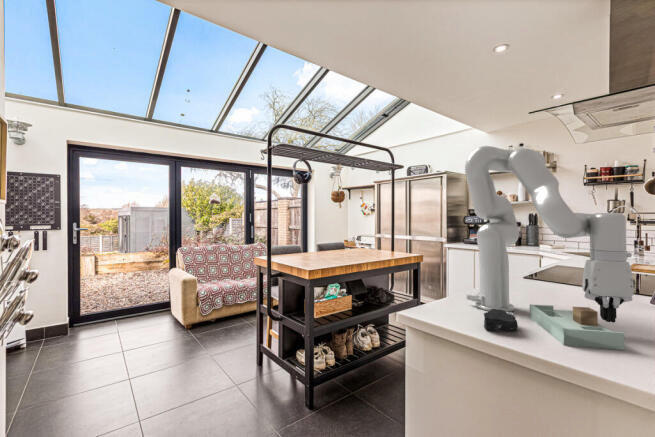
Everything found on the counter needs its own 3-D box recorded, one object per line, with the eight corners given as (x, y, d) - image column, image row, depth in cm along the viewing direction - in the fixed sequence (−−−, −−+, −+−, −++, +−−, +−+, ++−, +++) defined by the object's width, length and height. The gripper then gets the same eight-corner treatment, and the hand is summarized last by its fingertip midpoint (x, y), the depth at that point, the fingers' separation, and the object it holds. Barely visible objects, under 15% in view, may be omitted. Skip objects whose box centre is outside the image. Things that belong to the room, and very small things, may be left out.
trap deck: (563, 345, 77) (563, 329, 77) (529, 317, 98) (529, 304, 98) (624, 350, 74) (624, 333, 74) (575, 320, 95) (575, 306, 95)
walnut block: (580, 324, 83) (580, 310, 83) (572, 320, 87) (572, 306, 87) (597, 326, 82) (597, 311, 82) (588, 321, 86) (588, 307, 86)
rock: (480, 321, 96) (479, 303, 96) (512, 324, 93) (511, 305, 93) (485, 333, 86) (485, 314, 86) (521, 337, 83) (521, 316, 83)
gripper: (630, 255, 85) (630, 318, 85) (569, 254, 89) (570, 314, 89) (651, 258, 78) (651, 327, 78) (584, 257, 82) (584, 323, 82)
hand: (608, 320), depth 84 cm, fingers closed
